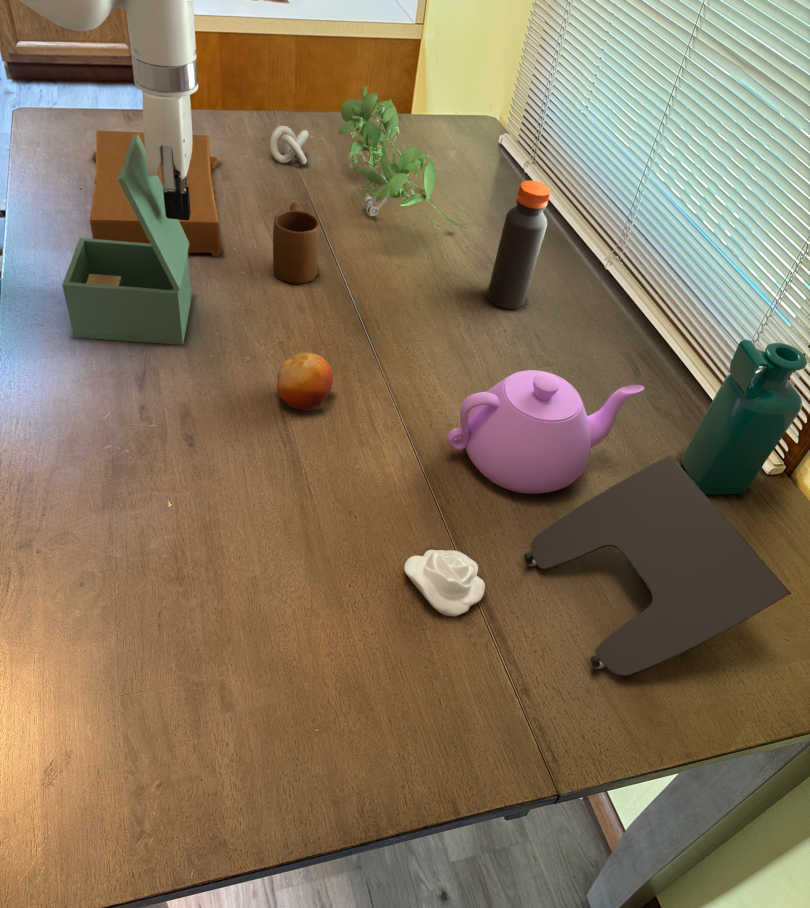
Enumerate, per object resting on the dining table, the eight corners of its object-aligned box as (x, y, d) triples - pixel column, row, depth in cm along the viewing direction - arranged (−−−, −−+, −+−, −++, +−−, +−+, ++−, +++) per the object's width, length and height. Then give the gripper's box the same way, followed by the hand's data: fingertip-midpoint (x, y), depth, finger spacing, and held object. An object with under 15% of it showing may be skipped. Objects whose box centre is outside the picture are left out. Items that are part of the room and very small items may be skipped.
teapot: (454, 503, 102) (475, 426, 92) (433, 414, 113) (450, 336, 103) (628, 502, 107) (667, 428, 97) (592, 416, 118) (623, 342, 108)
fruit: (337, 417, 108) (311, 371, 103) (290, 428, 111) (262, 384, 106) (350, 382, 113) (325, 337, 108) (304, 394, 116) (278, 350, 111)
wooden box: (78, 219, 123) (87, 121, 144) (86, 256, 127) (93, 156, 149) (228, 222, 128) (216, 127, 149) (230, 257, 133) (218, 161, 154)
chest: (74, 337, 113) (61, 284, 107) (90, 289, 121) (79, 237, 115) (183, 345, 116) (177, 293, 109) (191, 297, 124) (187, 246, 117)
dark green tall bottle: (725, 454, 117) (801, 331, 100) (750, 495, 111) (835, 373, 95) (666, 455, 115) (734, 330, 98) (689, 497, 109) (765, 373, 93)
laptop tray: (521, 566, 104) (509, 534, 97) (670, 483, 104) (670, 444, 96) (614, 712, 92) (609, 688, 84) (784, 618, 91) (794, 585, 84)
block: (89, 317, 116) (83, 290, 112) (94, 300, 119) (89, 273, 115) (120, 320, 116) (116, 293, 113) (125, 302, 119) (121, 276, 116)
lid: (117, 179, 96) (123, 177, 96) (132, 135, 104) (138, 133, 104) (174, 291, 109) (180, 290, 109) (184, 244, 117) (189, 243, 117)
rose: (398, 582, 87) (416, 521, 93) (393, 604, 90) (411, 544, 97) (483, 605, 87) (496, 542, 93) (475, 627, 90) (488, 565, 96)
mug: (271, 246, 137) (272, 194, 130) (314, 248, 138) (317, 197, 131) (273, 284, 129) (273, 231, 122) (318, 286, 131) (321, 234, 123)
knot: (268, 166, 156) (268, 136, 151) (272, 148, 161) (272, 119, 156) (305, 171, 157) (306, 141, 152) (308, 153, 162) (309, 124, 157)
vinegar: (497, 312, 133) (527, 199, 118) (480, 290, 137) (506, 178, 121) (531, 307, 135) (564, 196, 120) (512, 286, 139) (542, 176, 124)
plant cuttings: (382, 201, 167) (303, 137, 151) (436, 136, 159) (360, 62, 144) (435, 293, 146) (350, 230, 131) (500, 224, 139) (419, 148, 124)
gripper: (142, 45, 97) (157, 188, 111) (123, 92, 88) (142, 242, 102) (203, 52, 98) (210, 193, 112) (191, 100, 89) (201, 247, 103)
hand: (178, 216), depth 107 cm, fingers closed
